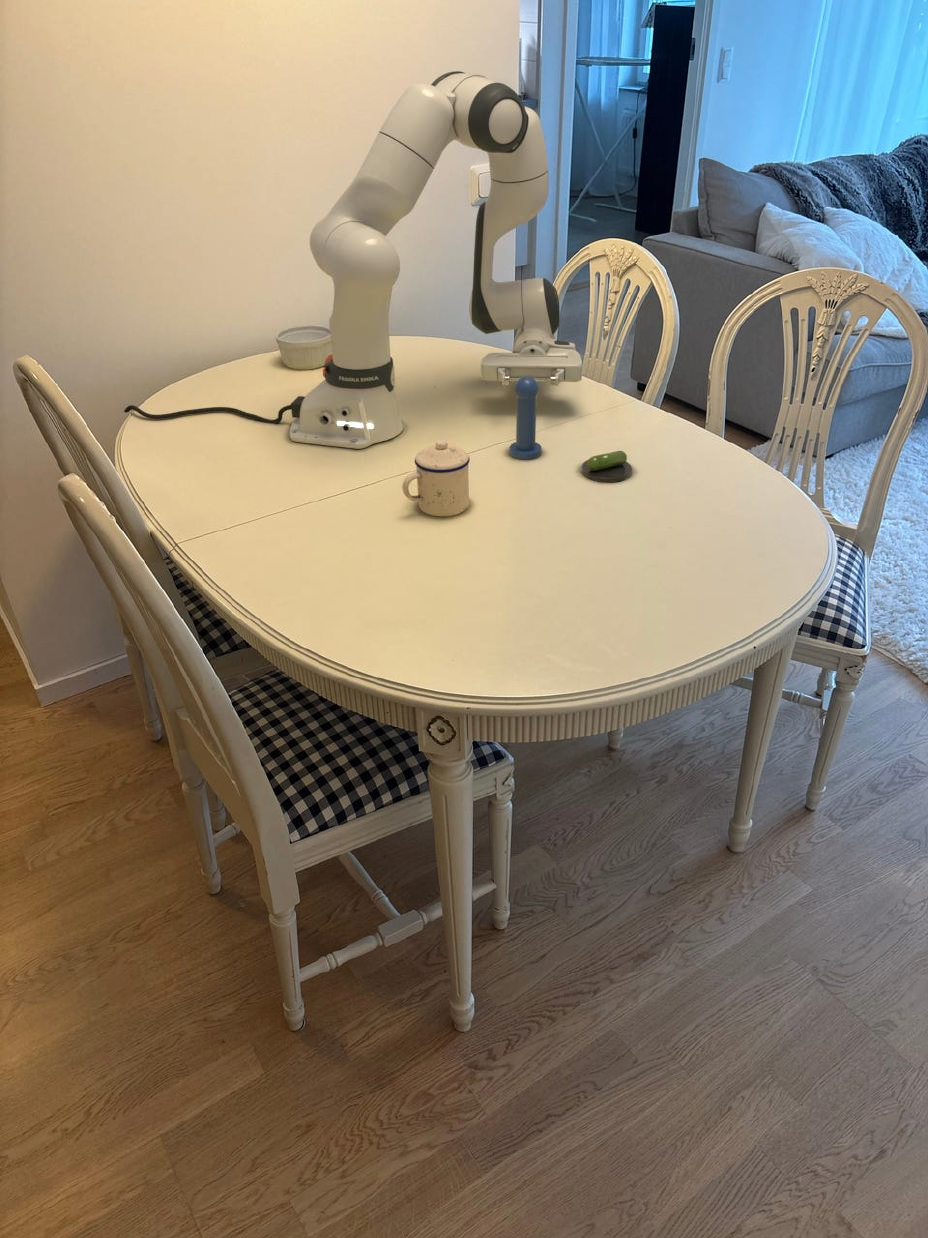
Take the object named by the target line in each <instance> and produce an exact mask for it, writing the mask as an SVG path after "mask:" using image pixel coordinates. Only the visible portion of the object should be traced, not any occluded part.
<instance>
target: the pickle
mask: <svg viewBox="0 0 928 1238" xmlns="http://www.w3.org/2000/svg"><path fill="white" fill-rule="evenodd" d="M632 472H633V467H632V465H631V464H630V463H629V462H628V456H627V454H626V452H625V451H623V450H616V451H615V450H614V451H611V452H607V453H602V454H598V455H593V456H591V457H589V458H588V459H587V460H585V461H584V462H583V463H582V464H581V474H582V475H583V476H584V477H585V478H587V479H589V480H592V481H595V482H600V483H618V482H623V481H625V480H627V479H629V478H630V477H631V475H632Z"/></svg>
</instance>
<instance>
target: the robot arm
mask: <svg viewBox="0 0 928 1238" xmlns="http://www.w3.org/2000/svg"><path fill="white" fill-rule="evenodd" d="M381 125H382V126H381V127H380V129H379V131H378V133H377V135H376V137H375V139H374V140H373V143H372V144H371V147H370V149H369V151H368V153H367V155H366V156H365V158H364V160H363V162H362V164H361V165H360V168H359V170H358V171H357V173H356V175H355V177H354V178H353V179H352V181H351V182H350V184H349V185H348V187H347V188H346V189H345V190H344V192H343V193H342V194H341V195H340V197H339V198H338V199H337V201H336V202H335V203H334V205H333V206H332V208H331V209H330V211H329V212H328V213H327V214H326V215H325V216H324V217H322V218H321V219H319V220H318V221H317V222H316V223H315V225H314V226H313V228H312V230H311V233H310V236H309V249H310V252H311V255H312V257H313V260H314V261H315V263H316V265H317V266H318V267H319V269H320V270H321V271H322V272H323V273H324V274H326V275H327V276H329V277H330V278H331V279H332V282H333V288H334V289H333V290H334V293H333V306H332V313H331V315H330V317H329V321H328V326H329V327H328V328H330V337H331V347H332V355H329V356H328V357H327V359H326V360H325V364H324V366H322V377H323V378H324V379H323V381H321V382H320V383H319V384H317V385H316V386H315V387H314V388H313V389H312V390H310V391H309V392H308V393H307V394H306V396H305V395H304V396H303V395H302V396H301V395H298V396H297V397H296V398H295V399H294V400H293V401H292V402H291V403H290V404H288V405H285V406H283V407H281V408H280V409H279V410H278V412H277V418H274V419H268V418H265V417H262V416H260V415H257V414H254V413H249V412H247V411H243V410H241V409H238V408H235V407H228V406H211V407H203V408H201V407H200V408H192V409H185V410H178V411H175V412H169V413H161V414H152V413H148V412H146V411H143V410H142V409H141V408H139V407H138V406H136V405H133V404H132V405H131V404H130V405H128V406H126V407H125V409H124V410H123V413H126V414H127V413H129V412H131V411H135V412H136V413H138V414H139V415H141V416H142V417H144V418H147V419H149V420H165V419H172V418H177V417H181V416H188V415H194V414H195V415H197V414H204V413H212V412H227V413H234V414H237V415H240V416H242V417H245V418H249V419H252V420H256V421H258V422H260V423H266V424H272V425H276V424H279V423H280V422H282V420H283V414H284V413H285V412H287V411H291V417H292V418H294V420H293V422H292V423H291V425H290V427H289V438H290V440H291V441H292V442H295V443H303V444H304V443H305V444H312V445H322V446H331V447H340V448H346V449H356V450H358V449H359V450H360V449H364V448H367V447H369V446H371V445H374V444H378V443H382V442H385V441H388V440H391V439H394V438H395V437H397V436H399V435H400V434H401V433H402V432H403V430H404V424H403V421H402V419H401V416H400V412H399V409H398V404H397V400H396V395H395V386H396V377H395V376H396V375H395V374H396V373H395V365H394V359H393V357H392V356H391V344H390V341H391V340H390V326H389V323H390V321H389V319H390V318H389V317H390V307H391V299H392V292H393V287H394V286H395V284H396V282H397V281H398V278H399V276H400V271H401V261H400V256H399V254H398V252H397V250H396V248H395V247H394V245H393V244H392V242H391V241H390V240H389V239H388V237H387V236H388V234H389V233H390V232H391V231H392V229H393V228H395V226H396V225H397V224H398V223H399V222H400V221H401V220H402V219H403V218H405V217H406V216H407V215H409V214H410V213H411V212H412V211H413V210H414V207H415V205H417V202H418V200H419V198H420V196H421V195H422V193H423V191H424V189H425V187H426V185H427V184H428V181H429V179H430V178H431V176H432V174H433V172H434V170H435V168H436V166H437V164H438V162H439V160H440V158H441V156H442V153H443V151H444V150H445V149H446V147H447V146H448V145H449V144H450V143H451V142H453V141H457V142H458V143H459V144H462V145H463V146H465V147H467V148H468V147H469V148H471V149H477V150H481V151H483V152H485V153H487V156H488V162H489V165H488V166H489V176H490V177H489V178H490V188H489V192H488V196H487V198H486V200H485V201H484V202H483V203H481V204H479V207H478V210H477V214H476V218H475V219H476V220H475V230H474V231H475V233H474V249H473V271H472V289H471V293H470V298H469V305H468V306H469V319H470V320H471V324H472V325H473V326H474V327H475V328H476V329H477V330H478V331H480V332H482V333H483V334H485V335H488V334H494V333H500V332H502V331H513V330H516V331H517V332H516V334H515V337H514V341H513V347H512V351H511V352H490V353H487V354H485V356H484V357H482V359H481V363H480V378H481V380H483V381H485V382H500V383H501V386H510V384H511V382H517V381H518V380H519V379H521V378H523V377H531V378H533V379H535V380H536V381H537V382H540V383H541V382H543V383H544V382H545V383H546V382H549V383H550V387H559V384H560V383H579V382H580V381H582V378H583V360H582V357H581V354H580V353H579V352H578V351H577V349H576V344H575V343H574V342H569V341H564V340H558V339H556V338H555V333H556V332H557V330H558V329H559V327H560V315H561V314H560V300H559V294H558V290H557V289H556V287H555V286H554V285H553V283H552V282H551V281H549V280H548V279H547V278H545V277H536V278H535V277H533V278H525V279H519V280H509V281H495V280H494V279H493V268H494V267H493V266H494V253H495V251H494V250H495V245H496V243H498V241H499V240H500V239H501V238H502V237H503V236H504V235H507V234H508V233H510V232H511V231H513V230H515V229H516V228H519V227H521V226H522V225H523V226H524V225H525V224H527V223H528V222H530V221H531V220H532V219H534V218H535V217H536V216H537V215H538V214H539V213H540V212H541V210H543V208H544V207H545V205H546V203H547V200H548V199H549V192H550V172H549V170H550V169H549V159H548V158H549V157H548V152H547V151H548V150H547V144H546V139H545V134H544V130H543V126H542V123H541V119H540V117H539V115H538V113H537V112H536V111H535V110H534V109H532V108H530V107H528V106H525V104H524V102H523V101H522V99H521V97H520V95H519V94H518V93H517V92H516V91H515V90H514V89H513V88H511V87H510V86H508V85H507V84H505V83H503V82H497V81H495V80H493V79H490V78H488V77H486V76H484V75H481V74H477V73H470V72H469V73H467V72H464V71H459V70H458V71H457V70H456V71H449V72H446V73H443V74H441V75H440V76H438V77H437V78H436V79H435V80H434V81H432V83H431V84H430V83H426V82H416V83H413V84H411V85H410V86H409V87H407V89H406V90H405V91H404V92H403V94H402V95H401V96H400V97H399V99H398V100H397V102H396V103H395V104H394V106H392V108H391V110H390V112H389V114H388V115H387V117H386V119H385V120H384V122H383V124H381Z"/></svg>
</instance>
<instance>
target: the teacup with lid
mask: <svg viewBox="0 0 928 1238" xmlns="http://www.w3.org/2000/svg"><path fill="white" fill-rule="evenodd" d="M470 460H471V459H470V456H469V454H468V452H467V451H466V450H465V449H464V448H462V447H459V446H456V445H452V444H449V443H448V441H447V440H445V439H438V440H436V441H435V444H434V445H431V446H427V447H424V448H422V449H421V450H419V451H418V452H417V453H416V455H415V458H414V464H415V466H416V472H412V473H410V474H407V476H406V477H405V478H404V480H403V482H402V487H401V488H402V492H403V494H404V496H405V497H406V498H407V499H408V500H410V501H411V502H417V505H418V507H419V509H420V511H422V512H423V513H425V514H427V515H430V516H432V517H433V516H434V517H451V516H456V515H459V514H461V513H464V511H466V510H467V509H468V507H469V505H470V485H469V484H470V481H469V480H470V479H469V463H470ZM413 480H416V484H417V495H411V493H410V490H409V485H410V483H411V482H412V481H413Z"/></svg>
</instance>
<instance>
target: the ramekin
mask: <svg viewBox="0 0 928 1238" xmlns="http://www.w3.org/2000/svg"><path fill="white" fill-rule="evenodd" d="M275 340H276V341H275V342H276V343H277V345H278V349H279V353H280V357H281V360H282V362H283V364H284V365H285V366H286V367H288V368H289V369H293V370H300V371H301V370H304V371H305V370H315V369H318V368H321V367H322V368H323V366H324V364H325V360H326V359H327V357H328V356H329V355H332V347H331V337H330V328H329V327H327V326H325V325H319V324H303V325H295V326H290V327H287V328H284V329H282V330H279V331H278V332H277V333H276V334H275Z"/></svg>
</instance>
